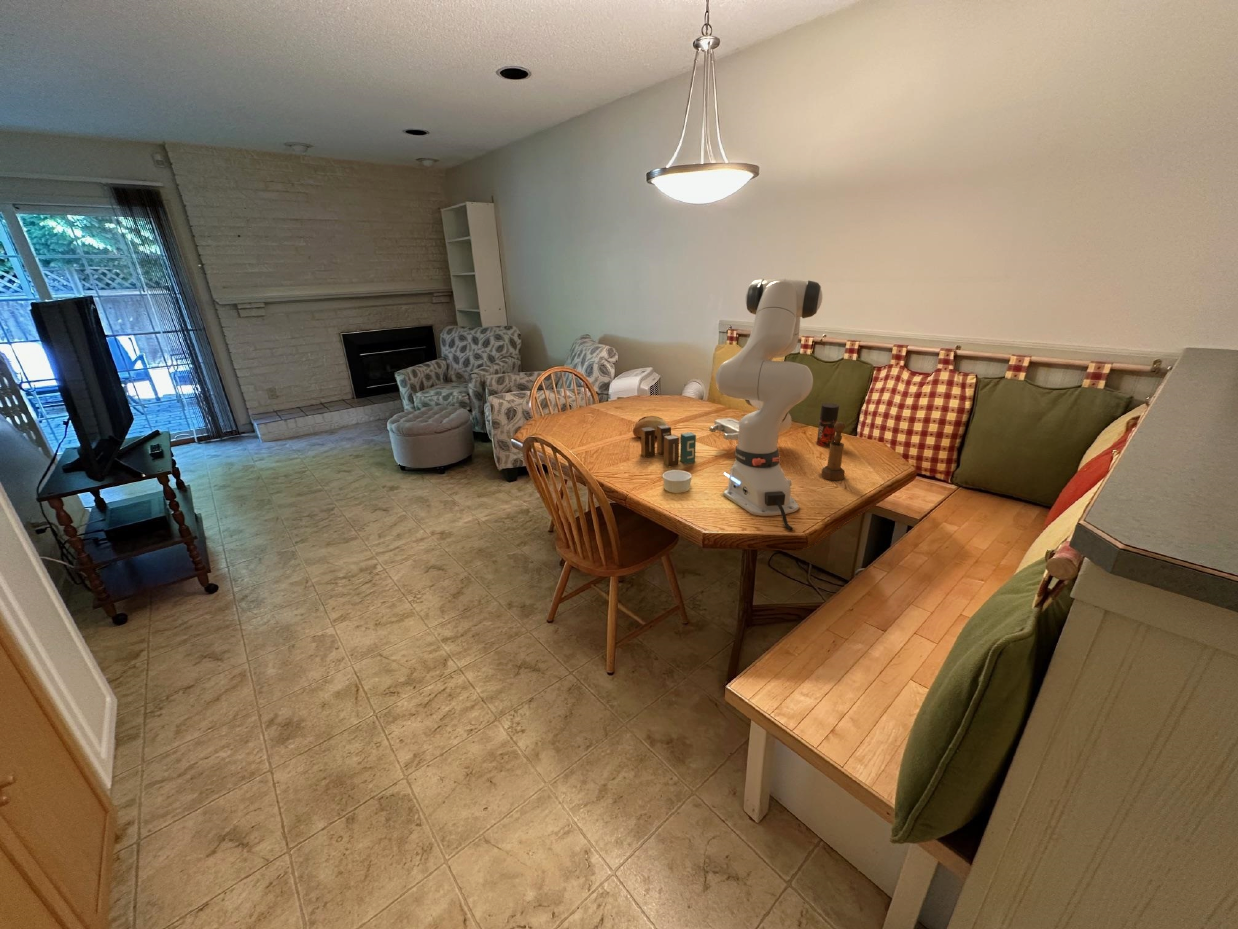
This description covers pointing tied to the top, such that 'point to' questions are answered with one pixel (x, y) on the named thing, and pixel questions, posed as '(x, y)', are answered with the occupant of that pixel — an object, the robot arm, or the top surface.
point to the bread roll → (648, 424)
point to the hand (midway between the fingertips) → (717, 433)
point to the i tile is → (671, 450)
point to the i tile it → (647, 442)
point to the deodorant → (827, 424)
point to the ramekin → (677, 481)
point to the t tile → (662, 437)
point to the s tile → (688, 447)
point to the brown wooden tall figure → (835, 456)
